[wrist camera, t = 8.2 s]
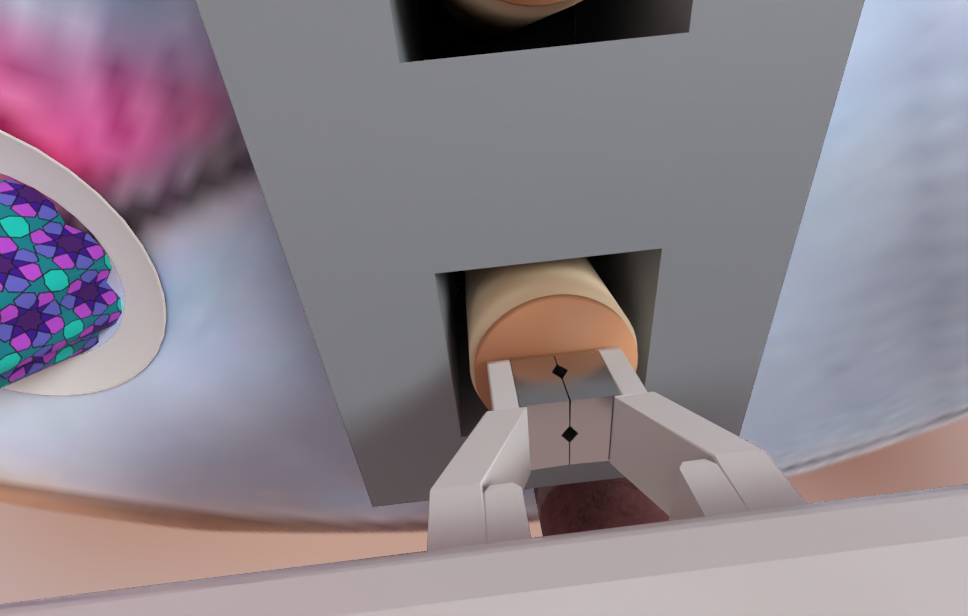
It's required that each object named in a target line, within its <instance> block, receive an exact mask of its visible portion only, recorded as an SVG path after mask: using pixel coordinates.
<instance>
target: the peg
mask: <svg viewBox="0 0 968 616" xmlns="http://www.w3.org/2000/svg"><path fill="white" fill-rule="evenodd" d="M464 278H465V294H466V311H467V327H468V343H469V360H470V375H471V379H472V383H473V386H474V388H475V391H476V392H477V394H478V396H479V397H480V399H481V400H482V402H483V403H484V405H485V406H486V407H487V408H488V410H489V411H492V406H491V397H490V388H489V379H488V370H487V362H491V361H500V360H509V359H518V358H528V357H539V356H549V355H552V356H553V355H561V354H569V353H577V352H585V351H594V350H596V349H602V348H609V347H616V346H618V347H619V348H621V349H622V351H623V353H624V354H625V356H626V358H627V359H628V361H629V363H630V364H631V366H632V367H633V369H634V371H635V372H636V369H637V364H638V352H637V340H636V336H635V332H634V329H633V327H632V325H631V323H630V322H629V320H628V318H627V317H626V315H625V314H624V313H623V311H622V310H621V308H620V307H619V305H618V304H617V302H616V301H615V299H614V298H613V296H612V295H611V293H610V292H609V290H608V289H607V287H606V286H605V284H604V283H603V281H602V280H601V279H600V277H599V276H598V274H597V273H596V271H595V270H594V268H593V267H592V265H591V264H590V262H589V261H588V259H587V258H586V257H580V258H571V259H562V260H553V261H544V262H535V263H526V264H517V265H508V266H499V267H490V268H481V269H472V270H464Z"/></svg>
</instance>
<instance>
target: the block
mask: <svg viewBox="0 0 968 616" xmlns="http://www.w3.org/2000/svg"><path fill="white" fill-rule="evenodd" d="M195 1H196V4H197V6H198V9H199V12H200V15H201V18H202V21H203V24H204V26H205V29H206V32H207V35H208V38H209V41H210V44H211V46H212V49H213V52H214V55H215V58H216V61H217V64H218V66H219V69H220V72H221V75H222V78H223V81H224V84H225V86H226V89H227V92H228V95H229V98H230V101H231V103H232V106H233V109H234V112H235V115H236V118H237V121H238V123H239V126H240V129H241V132H242V135H243V138H244V141H245V143H246V146H247V149H248V152H249V155H250V158H251V161H252V163H253V166H254V169H255V172H256V175H257V178H258V181H259V183H260V186H261V189H262V192H263V195H264V198H265V201H266V203H267V206H268V209H269V212H270V215H271V218H272V220H273V223H274V226H275V229H276V232H277V235H278V238H279V240H280V243H281V246H282V249H283V252H284V255H285V258H286V260H287V263H288V266H289V269H290V272H291V275H292V278H293V280H294V283H295V286H296V289H297V292H298V295H299V298H300V300H301V303H302V306H303V309H304V312H305V315H306V318H307V320H308V323H309V326H310V329H311V332H312V335H313V338H314V340H315V343H316V346H317V349H318V352H319V355H320V357H321V360H322V363H323V366H324V369H325V372H326V375H327V377H328V380H329V383H330V386H331V389H332V392H333V395H334V397H335V400H336V403H337V406H338V409H339V412H340V415H341V417H342V420H343V423H344V426H345V429H346V432H347V435H348V437H349V440H350V443H351V446H352V449H353V452H354V455H355V457H356V460H357V463H358V466H359V469H360V472H361V475H362V477H363V480H364V483H365V486H366V489H367V492H368V494H369V497H370V500H371V503H372V506H373V507H375V506H384V505H392V504H401V503H409V502H418V501H426V500H430V490H431V488H432V487H433V485H434V484H435V483H436V481H437V480H438V478H439V477H440V476H441V474H442V473H443V471H444V470H445V469H446V467H447V466H448V464H449V463H450V462H451V460H452V459H453V457H454V456H455V455H456V453H457V452H458V450H459V449H460V448H461V446H462V445H463V443H464V442H465V441H466V439H467V438H468V436H469V435H470V434H471V432H472V431H473V429H474V428H475V427H476V425H477V424H478V422H479V421H480V420H481V418H482V417H483V415H484V414H485V413H486V412H487V411H489V410H488V408H487V407H486V406H485V405H484V403H483V402H482V400H481V399H480V397H479V396H478V394H477V392H476V391H475V388H474V386H473V383H472V379H471V375H470V360H469V343H468V327H467V311H466V297H461V298H458V297H457V290H456V283H455V276H454V271H463V270H472V269H481V268H490V267H499V266H508V265H517V264H526V263H535V262H544V261H553V260H562V259H571V258H580V257H586V258H587V259H588V261H589V262H590V264H591V265H592V267H593V268H594V270H595V271H596V273H597V274H598V276H599V277H600V279H601V280H602V281H603V283H604V284H605V286H606V287H607V289H608V290H609V292H610V293H611V295H612V296H613V298H614V299H615V301H616V302H617V304H618V305H619V307H620V308H621V310H622V311H623V313H624V314H625V315H626V317H627V318H628V320H629V322H630V323H631V325H632V327H633V329H634V332H635V336H636V340H637V352H638V364H637V369H636V374H637V376H638V377H639V379H640V381H641V382H642V384H643V386H644V387H645V389H646V390H647V392H656V393H658V394H660V395H662V396H664V397H665V398H667V399H669V400H671V401H673V402H675V403H677V404H679V405H680V406H682V407H684V408H686V409H688V410H690V411H692V412H693V413H695V414H697V415H699V416H701V417H703V418H705V419H707V420H708V421H710V422H712V423H714V424H716V425H718V426H720V427H722V428H723V429H725V430H727V431H729V432H731V433H733V434H735V435H737V436H738V437H739V434H740V430H741V427H742V424H743V420H744V417H745V413H746V410H747V406H748V403H749V399H750V396H751V392H752V389H753V385H754V382H755V378H756V375H757V372H758V368H759V365H760V361H761V358H762V354H763V351H764V347H765V344H766V340H767V337H768V333H769V330H770V327H771V323H772V320H773V316H774V313H775V309H776V306H777V302H778V299H779V295H780V292H781V288H782V285H783V281H784V278H785V275H786V271H787V268H788V264H789V261H790V257H791V254H792V250H793V247H794V243H795V240H796V236H797V233H798V230H799V226H800V223H801V219H802V216H803V212H804V209H805V205H806V202H807V198H808V195H809V191H810V188H811V185H812V181H813V178H814V174H815V171H816V167H817V164H818V160H819V157H820V153H821V150H822V146H823V143H824V139H825V136H826V133H827V129H828V126H829V122H830V119H831V115H832V112H833V108H834V105H835V101H836V98H837V94H838V91H839V88H840V84H841V81H842V77H843V74H844V70H845V67H846V63H847V60H848V56H849V53H850V49H851V46H852V43H853V39H854V36H855V32H856V29H857V25H858V22H859V18H860V15H861V11H862V8H863V4H864V1H865V0H582V1H580V2H578V3H576V4H575V45H565V46H556V47H546V48H537V49H527V50H518V51H509V52H499V53H490V54H480V55H471V56H461V57H452V58H442V59H433V60H424V54H423V46H422V39H421V32H420V25H419V18H418V11H417V3H416V0H195ZM623 477H625V476H624V475H623V474H622V473H620V472H619V471H618V470H617V469H616V468H615V467H614V466H613V465H611V464H610V463H609V461H601V462H590V463H580V464H570V462H569V465H562V466H556V467H549V468H542V469H536V470H531V473H530V476H529V478H528V481H527V483H526V485H525V488H524V489H529V488H537V487H546V486H554V485H563V484H571V483H580V482H589V481H597V480H606V479H614V478H623Z"/></svg>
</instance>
